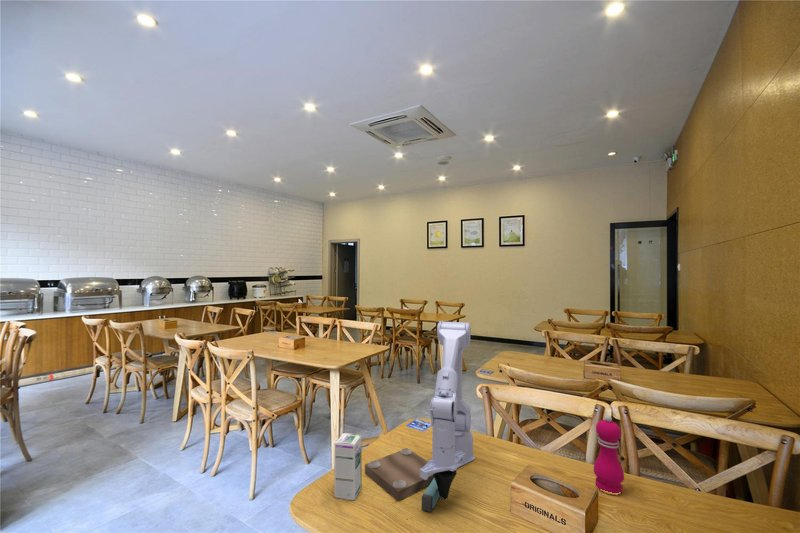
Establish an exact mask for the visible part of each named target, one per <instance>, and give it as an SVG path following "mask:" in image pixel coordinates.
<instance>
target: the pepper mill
mask: <svg viewBox="0 0 800 533" xmlns="http://www.w3.org/2000/svg"><path fill="white" fill-rule="evenodd" d="M595 432H596V434H597V435H598V437H597V439H598V440H597V442H598V444H599V454H598V456H597V458H596V459H595V462H594V463H593V472H594V475H595V486H597V487H598V488H599V489H602V490H605V491H608V492H612V493H619V492H621V491H622V492H623V485H622V484H623V482H624V480H625V473H624V470H623V466H622V464H621V463H620V461H619V456H618V449H619V447H620V444H619V443H620V439H621V436H622V430H621V428H620V426H619V425H618V424H617V423H616V422H614V421H613V418H612V416H611V415H608V414H607V415H605V416H604V419H602V420H599V421H597V423H596V426H595ZM597 487H596V488H597ZM598 488H597V489H598ZM599 489H598V490H599Z"/></svg>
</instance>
